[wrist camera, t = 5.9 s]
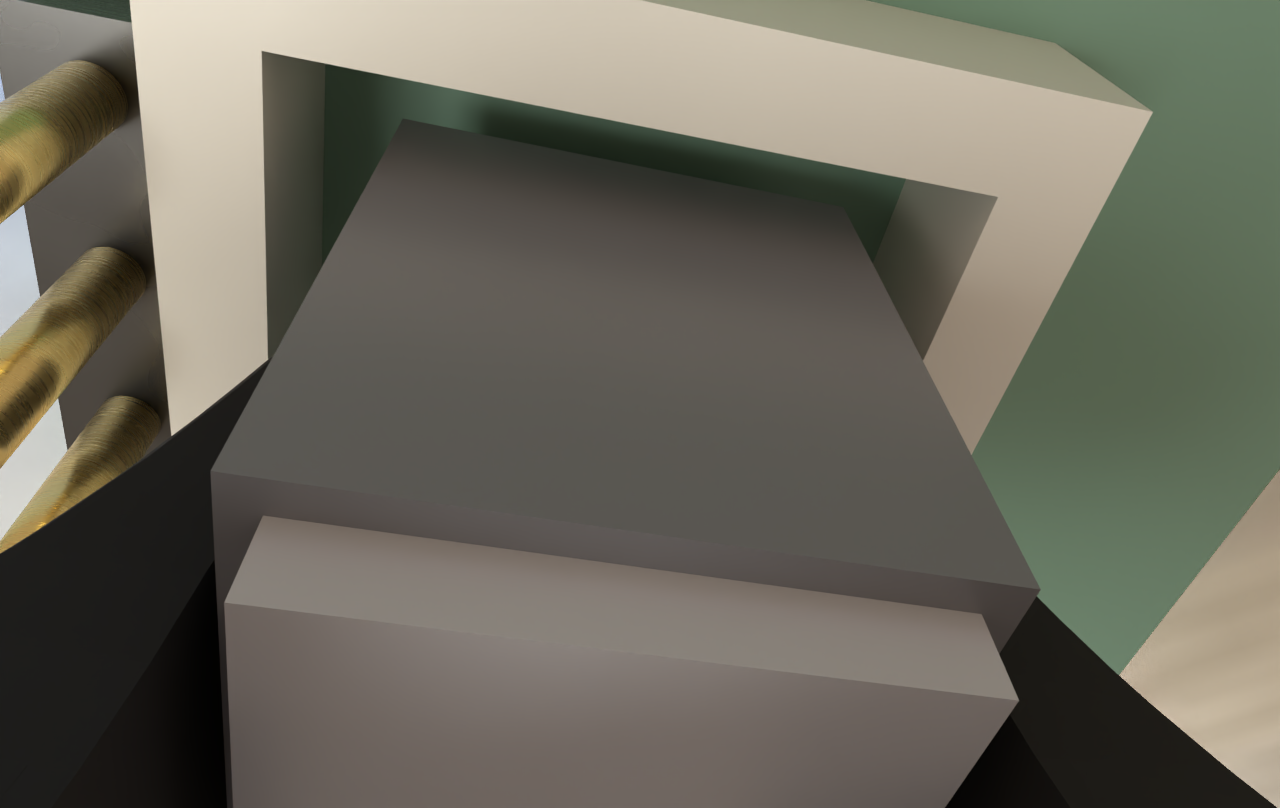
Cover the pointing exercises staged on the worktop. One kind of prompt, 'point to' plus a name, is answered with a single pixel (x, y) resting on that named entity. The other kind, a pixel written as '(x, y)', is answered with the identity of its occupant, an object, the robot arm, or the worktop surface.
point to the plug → (602, 509)
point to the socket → (645, 96)
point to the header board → (1083, 307)
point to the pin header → (79, 248)
